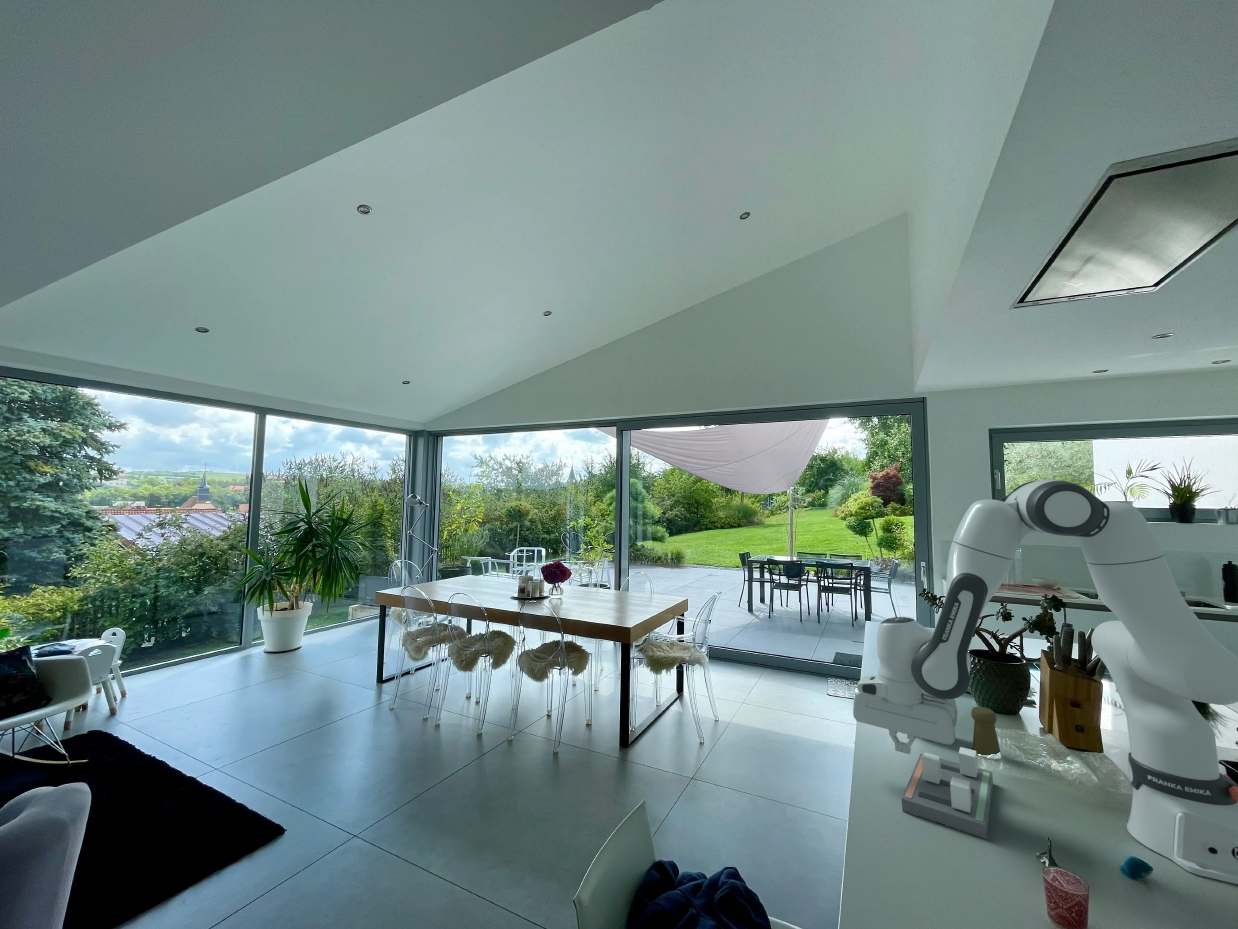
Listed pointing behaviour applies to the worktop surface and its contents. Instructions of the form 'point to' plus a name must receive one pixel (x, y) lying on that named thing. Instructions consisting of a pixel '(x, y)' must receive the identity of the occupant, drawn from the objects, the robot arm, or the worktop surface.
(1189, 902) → the worktop surface
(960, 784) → the switch
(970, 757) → the switch
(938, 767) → the switch
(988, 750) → the cork
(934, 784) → the switch board
